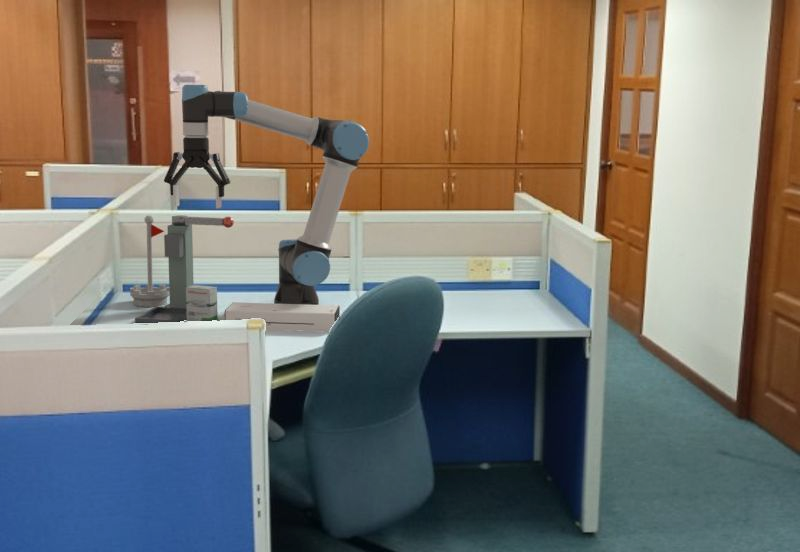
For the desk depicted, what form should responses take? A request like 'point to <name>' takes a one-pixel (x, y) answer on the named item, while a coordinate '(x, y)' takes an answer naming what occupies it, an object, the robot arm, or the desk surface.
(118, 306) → the desk surface
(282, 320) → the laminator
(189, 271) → the column
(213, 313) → the ink box
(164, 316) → the tray
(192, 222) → the lever
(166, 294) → the flag stand
